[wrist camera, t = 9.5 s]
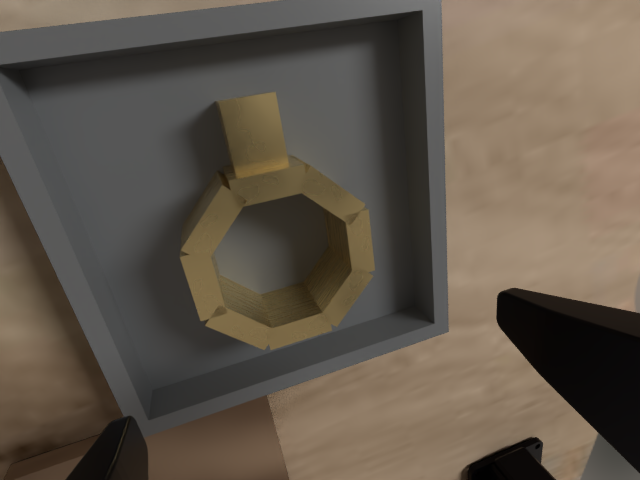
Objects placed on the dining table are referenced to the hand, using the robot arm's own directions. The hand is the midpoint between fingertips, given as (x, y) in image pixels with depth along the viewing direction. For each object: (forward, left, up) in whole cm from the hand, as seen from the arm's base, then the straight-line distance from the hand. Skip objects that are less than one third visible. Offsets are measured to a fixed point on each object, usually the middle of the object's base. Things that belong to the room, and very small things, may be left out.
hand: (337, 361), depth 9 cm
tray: (+1, 0, -10) cm, 10 cm away
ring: (+1, 0, -9) cm, 9 cm away
